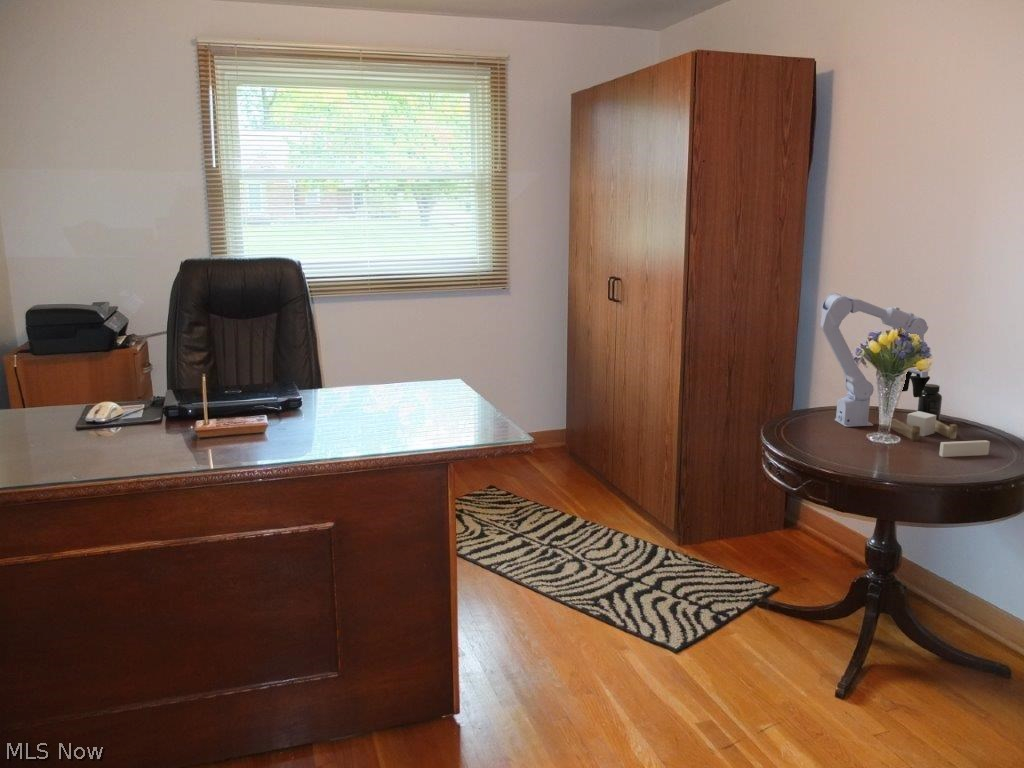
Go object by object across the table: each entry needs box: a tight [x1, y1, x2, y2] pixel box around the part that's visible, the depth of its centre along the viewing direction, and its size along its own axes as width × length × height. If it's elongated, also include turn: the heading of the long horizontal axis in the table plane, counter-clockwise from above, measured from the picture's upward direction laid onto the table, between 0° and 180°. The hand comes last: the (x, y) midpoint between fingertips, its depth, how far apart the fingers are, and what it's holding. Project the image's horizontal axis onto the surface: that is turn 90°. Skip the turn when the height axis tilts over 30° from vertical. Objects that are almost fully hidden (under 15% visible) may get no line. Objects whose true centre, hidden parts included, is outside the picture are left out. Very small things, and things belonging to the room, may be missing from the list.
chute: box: [890, 418, 958, 442], centre depth 250 cm, size 14×14×4 cm
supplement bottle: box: [917, 383, 943, 422], centre depth 263 cm, size 7×7×12 cm
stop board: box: [938, 439, 991, 458], centre depth 230 cm, size 14×2×4 cm, turn 95°
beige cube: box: [905, 410, 937, 437], centre depth 251 cm, size 6×6×6 cm
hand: (910, 394), depth 258 cm, fingers open, 7 cm apart
